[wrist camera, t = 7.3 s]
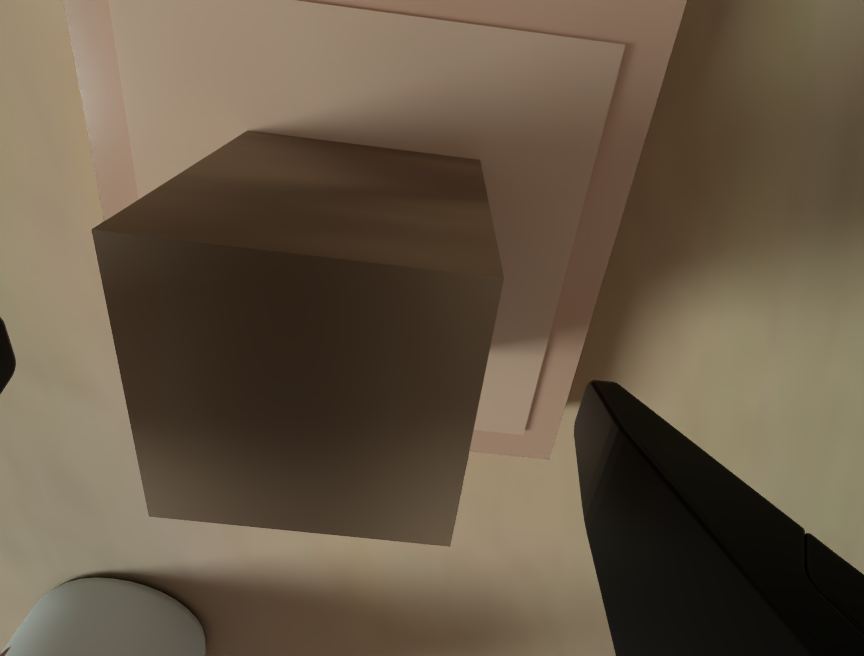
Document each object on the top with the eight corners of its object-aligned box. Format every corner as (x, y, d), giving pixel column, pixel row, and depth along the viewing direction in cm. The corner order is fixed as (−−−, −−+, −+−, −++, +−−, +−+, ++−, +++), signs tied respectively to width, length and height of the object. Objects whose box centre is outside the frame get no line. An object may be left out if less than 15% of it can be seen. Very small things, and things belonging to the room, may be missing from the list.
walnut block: (479, 159, 12) (504, 278, 7) (449, 352, 15) (449, 546, 9) (247, 130, 12) (90, 229, 7) (256, 331, 14) (148, 516, 9)
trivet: (648, -6, 13) (693, -8, 10) (537, 407, 19) (550, 464, 16) (115, -80, 12) (37, -99, 10) (177, 367, 18) (137, 420, 16)
